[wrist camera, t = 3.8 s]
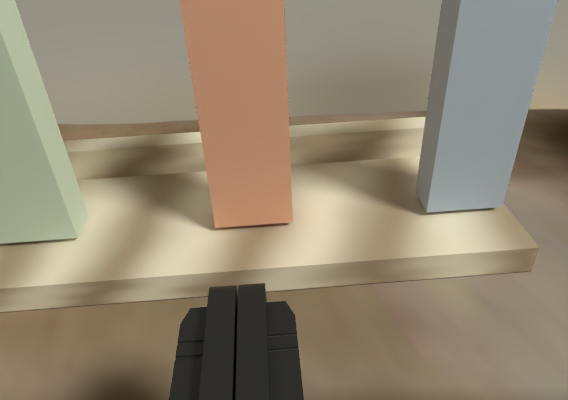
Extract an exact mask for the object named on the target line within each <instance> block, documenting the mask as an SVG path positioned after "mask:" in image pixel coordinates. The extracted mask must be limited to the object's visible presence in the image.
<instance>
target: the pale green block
mask: <svg viewBox="0 0 568 400" xmlns="http://www.w3.org/2000/svg"><path fill="white" fill-rule="evenodd" d="M87 217H88V212H87V209H86V206H85V203H84V200H83V198H82V195H81V192H80V189H79V186H78V183H77V180H76V177H75V174H74V171H73V168H72V166H71V163H70V160H69V157H68V154H67V151H66V148H65V145H64V142H63V139H62V136H61V133H60V131H59V128H58V125H57V122H56V119H55V116H54V113H53V110H52V108H51V105H50V101H49V99H48V96H47V93H46V90H45V87H44V84H43V81H42V78H41V75H40V73H39V69H38V67H37V64H36V61H35V58H34V55H33V52H32V49H31V46H30V43H29V40H28V38H27V35H26V32H25V29H24V26H23V23H22V20H21V17H20V14H19V11H18V8H17V5H16V2H15V0H0V244H3V243H16V242H30V241H44V240H58V239H71V238H78V236H79V234H80V232H81V230H82V228H83V225H84V223H85V221H86V219H87Z"/></svg>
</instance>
